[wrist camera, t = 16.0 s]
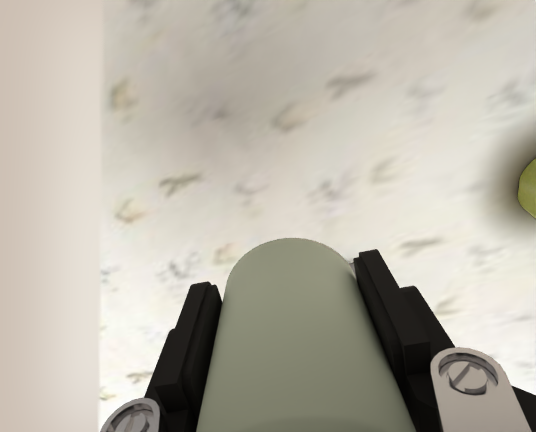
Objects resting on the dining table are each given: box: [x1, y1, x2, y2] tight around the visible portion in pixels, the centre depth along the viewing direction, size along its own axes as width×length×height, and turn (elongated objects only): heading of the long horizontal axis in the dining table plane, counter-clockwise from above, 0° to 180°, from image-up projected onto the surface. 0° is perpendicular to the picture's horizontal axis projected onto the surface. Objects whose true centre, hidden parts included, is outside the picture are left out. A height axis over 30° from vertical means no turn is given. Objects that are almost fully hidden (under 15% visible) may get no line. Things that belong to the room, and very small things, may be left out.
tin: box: [196, 238, 416, 432], centre depth 9 cm, size 4×4×6 cm
